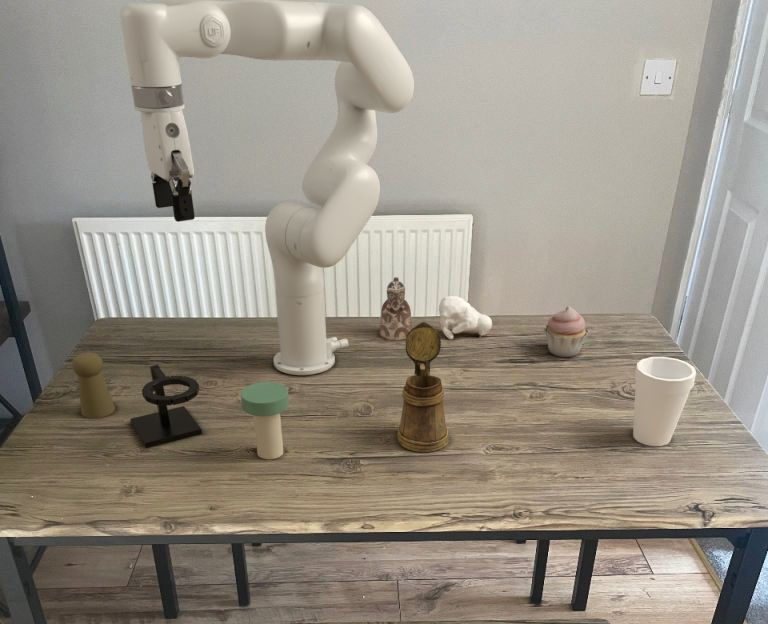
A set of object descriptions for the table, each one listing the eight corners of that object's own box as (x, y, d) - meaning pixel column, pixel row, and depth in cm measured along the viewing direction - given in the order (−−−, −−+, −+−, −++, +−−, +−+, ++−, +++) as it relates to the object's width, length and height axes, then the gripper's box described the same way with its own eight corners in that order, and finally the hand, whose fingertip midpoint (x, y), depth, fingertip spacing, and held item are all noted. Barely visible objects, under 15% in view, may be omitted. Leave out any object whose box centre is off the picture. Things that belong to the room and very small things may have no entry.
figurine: (377, 339, 176) (376, 285, 169) (382, 326, 181) (382, 274, 174) (409, 341, 175) (410, 287, 168) (413, 328, 180) (414, 275, 173)
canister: (282, 437, 140) (276, 378, 134) (300, 457, 135) (295, 396, 128) (241, 448, 137) (233, 388, 131) (257, 468, 132) (250, 407, 125)
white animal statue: (440, 290, 175) (495, 296, 175) (435, 327, 180) (488, 333, 180) (440, 301, 170) (496, 307, 170) (435, 338, 175) (490, 344, 175)
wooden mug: (446, 414, 147) (450, 321, 137) (449, 452, 136) (454, 353, 125) (397, 414, 147) (397, 321, 137) (397, 452, 136) (397, 353, 126)
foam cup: (649, 455, 135) (664, 385, 127) (612, 431, 141) (625, 363, 134) (691, 442, 138) (708, 373, 131) (653, 419, 145) (667, 352, 138)
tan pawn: (105, 419, 146) (92, 363, 140) (75, 416, 147) (61, 361, 141) (120, 404, 151) (109, 349, 144) (91, 401, 152) (78, 347, 146)
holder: (184, 410, 149) (174, 350, 142) (218, 455, 136) (209, 391, 129) (131, 423, 145) (118, 362, 138) (160, 470, 132) (147, 405, 125)
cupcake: (552, 339, 175) (558, 294, 169) (592, 349, 170) (599, 303, 165) (533, 353, 169) (538, 308, 163) (574, 364, 164) (580, 317, 158)
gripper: (201, 103, 119) (215, 222, 128) (164, 89, 131) (179, 199, 141) (151, 107, 115) (169, 229, 125) (118, 93, 128) (137, 204, 137)
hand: (175, 213), depth 133 cm, fingers open, 9 cm apart
